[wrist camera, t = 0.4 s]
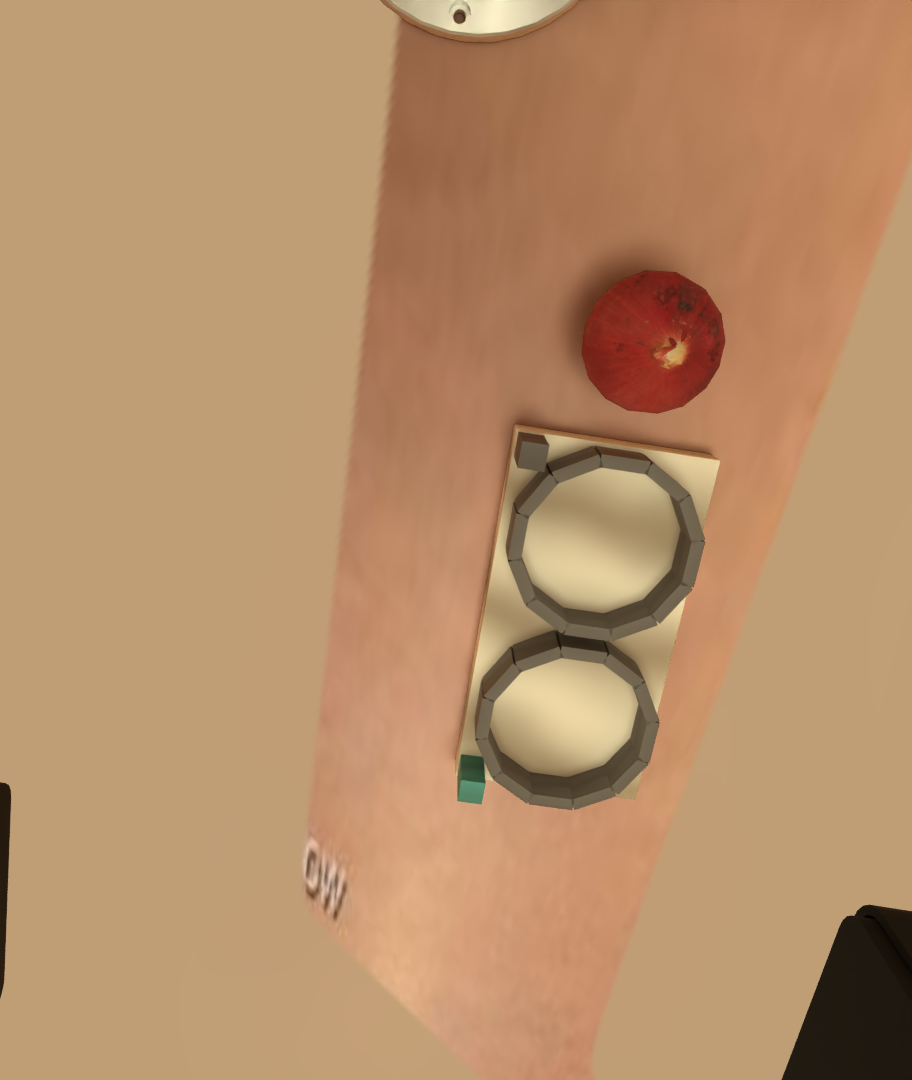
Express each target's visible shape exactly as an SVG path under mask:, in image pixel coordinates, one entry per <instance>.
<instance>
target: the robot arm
mask: <svg viewBox="0 0 912 1080" xmlns="http://www.w3.org/2000/svg"><path fill="white" fill-rule="evenodd" d="M381 1H382V3H383V4H384V5H386V6H387V7H388V8H390V9H391V10H392V11H394V12H395V13H396V14H398V15H399V16H400V17H402V18H403V19H404V20H406V21H407V22H408V23H410V24H412V25H415V26H417V27H419V28H421V29H423V30H425V31H428V32H430V33H432V34H434V35H437V36H441V37H445V38H450V39H454V40H458V41H463V42H495V41H500V40H505V39H510V38H515V37H520V36H523V35H525V34H527V33H530V32H532V31H534V30H536V29H539V28H541V27H543V26H546V25H548V24H549V23H551V22H552V21H554V20H555V19H557V18H558V17H559V16H561V15H562V14H564V13H565V12H567V11H568V10H569V9H571V8H572V7H573V6H574V5H575V4H576V3H577V2H578V1H579V0H381ZM457 13H463V14H464V15H465V17H466V20H465V22H464V23H462V24H457V23H455V21H454V20H453V18H454V15H455V14H457ZM10 811H11V790H10V787H9V785H7V784H6V783H0V997H1V994H2V989H3V984H4V971H5V943H6V918H7V917H6V916H7V890H8V889H7V888H8V863H9V837H10ZM782 1080H912V911H906V910H899V909H893V908H886V907H880V906H874V905H865V906H862V907H861V908H860V909H859V910H858V911H857V912H856V914H855V916H847V917H846V918H845V919H844V920H843V921H842V923H841V925H840V927H839V930H838V932H837V935H836V938H835V940H834V943H833V945H832V948H831V951H830V953H829V956H828V959H827V961H826V964H825V966H824V969H823V972H822V974H821V977H820V980H819V982H818V985H817V988H816V990H815V993H814V996H813V998H812V1001H811V1004H810V1006H809V1009H808V1011H807V1014H806V1017H805V1019H804V1022H803V1025H802V1027H801V1030H800V1033H799V1036H798V1038H797V1041H796V1043H795V1046H794V1049H793V1051H792V1054H791V1056H790V1059H789V1062H788V1064H787V1067H786V1070H785V1072H784V1075H783V1078H782Z"/></svg>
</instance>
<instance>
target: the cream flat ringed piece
mask: <svg viewBox="0 0 912 1080" xmlns="http://www.w3.org/2000/svg"><path fill="white" fill-rule="evenodd" d="M719 464H720V460H718V459H717V458H716V457H714V456H713V455H711V454H705V453H699V452H692V451H686V450H680V449H673V448H667V447H660V446H654V445H647V444H641V443H634V442H628V441H622V440H615V439H609V438H602V437H596V436H589V435H583V434H576V433H570V432H564V431H557V430H551V429H544V428H538V427H531V426H525V425H519V424H514V430H513V435H512V441H511V447H510V453H509V458H508V464H507V470H506V475H505V481H504V487H503V492H502V498H501V504H500V509H499V515H498V521H497V526H496V532H495V538H494V543H493V549H492V555H491V561H490V566H489V572H488V578H487V583H486V589H485V595H484V600H483V606H482V612H481V617H480V623H479V629H478V634H477V640H476V646H475V651H474V657H473V663H472V668H471V674H470V680H469V686H468V691H467V697H466V703H465V708H464V714H463V720H462V725H461V731H460V737H459V742H458V748H457V754H456V759H455V776H458V801H461V802H468V803H476V804H482V799H483V794H484V788H485V780H492V781H496V782H497V783H499V784H500V785H501V786H503V787H504V788H506V789H507V790H508V791H510V792H511V793H513V794H514V795H516V796H517V797H518V798H520V799H521V800H523V801H524V802H525V803H527V802H528V801H529V804H531V805H538V806H545V807H553V808H560V809H567V810H572V808H573V807H574V810H576V809H579V808H582V807H585V806H588V805H591V804H594V803H597V802H600V801H603V800H606V799H609V798H612V797H616V798H624V799H631V800H636V796H637V792H638V788H639V784H640V780H641V776H642V772H643V770H644V769H645V768H646V767H647V766H648V762H649V763H650V759H651V755H652V751H653V747H654V743H655V739H656V735H657V731H658V727H659V718H658V715H657V712H658V708H659V704H660V700H661V696H662V692H663V688H664V684H665V680H666V676H667V672H668V668H669V664H670V660H671V656H672V652H673V648H674V644H675V640H676V636H677V632H678V628H679V624H680V620H681V616H682V612H683V608H684V604H685V600H686V596H687V595H688V594H689V593H690V592H691V591H692V588H691V587H694V584H695V580H696V576H697V572H698V568H699V565H700V561H701V557H702V553H703V549H704V545H705V541H704V540H705V538H704V534H703V528H704V524H705V520H706V516H707V512H708V508H709V504H710V500H711V496H712V492H713V488H714V484H715V480H716V476H717V472H718V468H719Z"/></svg>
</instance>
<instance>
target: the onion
mask: <svg viewBox="0 0 912 1080" xmlns="http://www.w3.org/2000/svg"><path fill="white" fill-rule="evenodd" d="M724 345H725V335H724V328H723V322H722V315H721V313H720V311H719V310H718V308H717V307H716V305H715V304H714V302H713V301H712V299H711V297H710V296H709V294H708V293H707V291H706V290H705V289H704V288H702V287H701V286H699V285H697V284H695V283H694V282H692V281H690V280H689V279H687V278H685V277H684V276H682V275H680V274H678V273H677V272H662V271H643V272H641V273H638V274H636V275H633V276H631V277H629V278H626V279H624V280H621V281H619V282H617V283H616V284H615V285H614V286H613V287H612V288H611V289H610V290H609V291H607V292H606V293H605V294H604V295H603V296H602V297H601V298H600V299H599V300H598V301H597V302H596V304H595V306H594V308H593V310H592V312H591V314H590V316H589V318H588V320H587V322H586V325H585V329H584V337H583V345H582V356H583V360H584V363H585V367H586V370H587V374H588V377H589V379H590V380H591V382H592V383H593V384H594V385H595V387H596V388H597V389H598V390H599V391H600V393H601V394H602V395H603V396H604V397H605V398H606V399H607V400H609V401H611V402H613V403H615V404H617V405H618V406H620V407H622V408H624V409H626V410H629V411H639V412H649V413H657V414H658V413H661V412H665V411H668V410H672V409H675V408H679V407H682V406H684V405H685V404H687V403H688V402H689V401H690V400H692V399H693V398H694V397H695V396H697V395H698V394H699V393H700V392H702V391H703V390H704V389H706V387H707V386H708V384H709V382H710V381H711V379H712V378H713V376H714V374H715V373H716V371H717V369H718V368H719V365H720V361H721V357H722V353H723V349H724Z"/></svg>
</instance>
